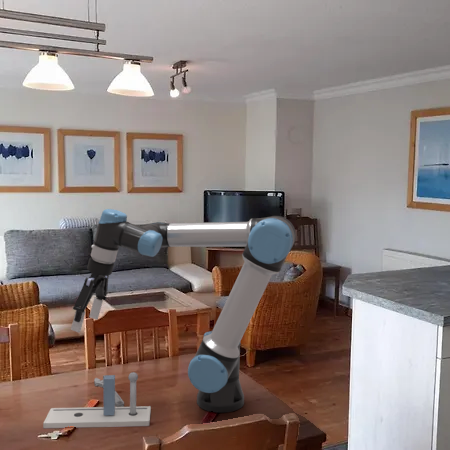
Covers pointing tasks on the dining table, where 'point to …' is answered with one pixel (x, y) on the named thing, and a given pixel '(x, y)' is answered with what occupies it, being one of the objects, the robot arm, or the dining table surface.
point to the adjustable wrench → (118, 400)
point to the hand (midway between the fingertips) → (84, 324)
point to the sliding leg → (109, 394)
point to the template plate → (101, 414)
